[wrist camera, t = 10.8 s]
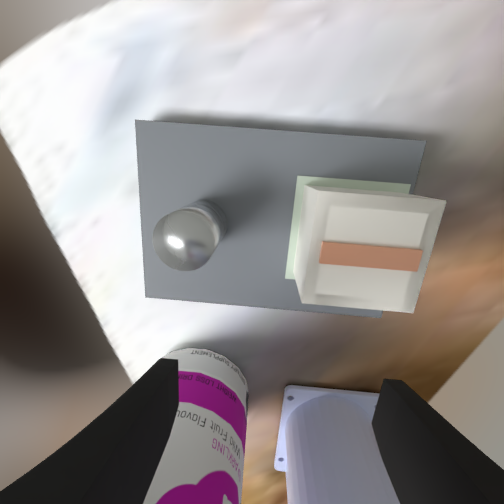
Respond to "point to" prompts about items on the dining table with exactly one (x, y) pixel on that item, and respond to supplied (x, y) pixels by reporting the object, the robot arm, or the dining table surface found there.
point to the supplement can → (204, 433)
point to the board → (254, 202)
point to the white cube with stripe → (364, 247)
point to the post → (189, 235)
